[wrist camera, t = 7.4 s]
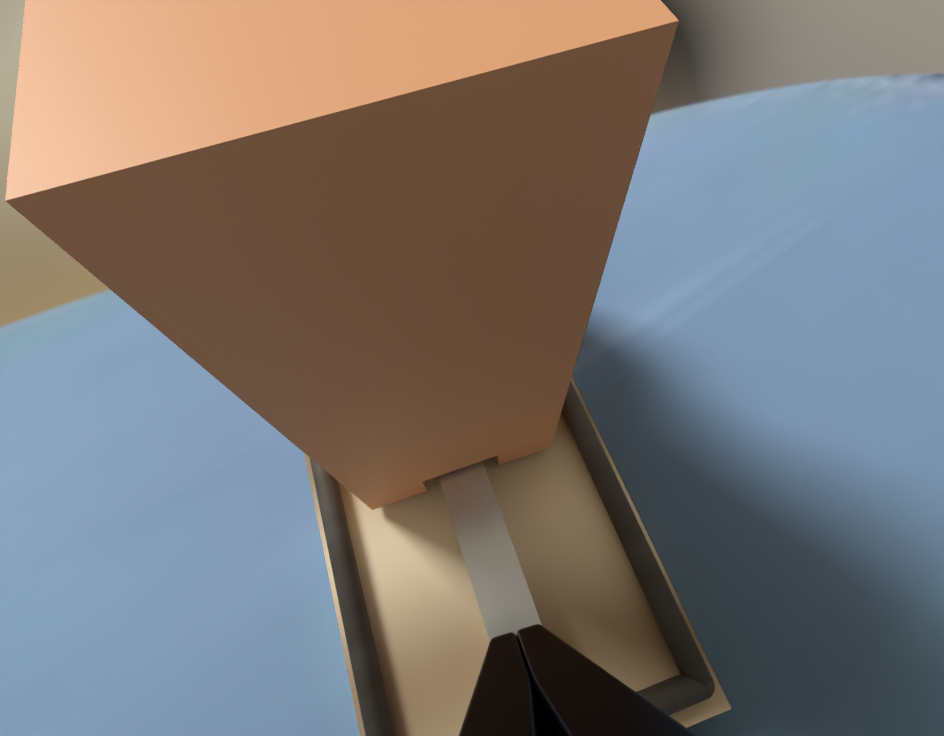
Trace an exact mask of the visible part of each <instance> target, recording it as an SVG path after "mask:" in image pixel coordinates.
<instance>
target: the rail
mask: <svg viewBox="0 0 944 736" xmlns="http://www.w3.org/2000/svg"><path fill="white" fill-rule="evenodd" d="M438 478H439V481H440V485H441V488H442V491H443V494H444V497H445V500H446V504H447V507H448V510H449V513H450V516H451V520H452V523H453V526H454V529H455V532H456V535H457V539H458V542H459V545H460V548H461V551H462V555H463V558H464V561H465V564H466V567H467V570H468V574H469V577H470V580H471V583H472V586H473V589H474V593H475V596H476V599H477V602H478V605H479V609H480V612H481V615H482V618H483V621H484V624H485V628H486V631H487V634H488V637H489V640H491V639H492V638H493V637H496V636H500V635H503V634H506V633H509V632H513V633H515V634H517V631H518V630H519V629H522V628H526V627H529V626H532V625H535V624H540V625H542V624H541V621H540V619H539V616H538V613H537V610H536V608H535V605H534V602H533V599H532V596H531V594H530V591H529V588H528V585H527V583H526V580H525V577H524V574H523V571H522V569H521V566H520V563H519V560H518V558H517V555H516V552H515V549H514V546H513V544H512V541H511V538H510V535H509V533H508V530H507V527H506V524H505V521H504V519H503V516H502V513H501V510H500V508H499V505H498V502H497V499H496V497H495V494H494V491H493V488H492V485H491V483H490V480H489V477H488V474H487V472H486V469H485V466H484V463H483V461H480V462H478V463H475V464H472V465H469V466H466V467H463V468H460V469H457V470H455V471H452V472H449V473H446V474H443V475H440V476H438ZM516 636H517V635H516Z"/></svg>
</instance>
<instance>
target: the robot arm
mask: <svg viewBox="0 0 944 736" xmlns="http://www.w3.org/2000/svg"><path fill="white" fill-rule="evenodd" d="M516 635H517V636H516ZM459 736H697V735H696V734H694V733H693V732H691V731H690V730H689V729H687V728H686V727H684V726H683V725H682V724H680V723H679V722H677V721H676V720H675V719H673V718H672V717H670V716H669V715H667V714H666V713H665V712H663V711H662V710H660V709H659V708H658V707H656V706H655V705H653V704H652V703H651V702H649V701H648V700H646V699H645V698H644V697H642V696H641V695H639V694H638V693H636V692H635V691H634V690H632V689H631V688H629V687H628V686H627V685H625V684H624V683H622V682H621V681H620V680H618V679H617V678H615V677H614V676H613V675H611V674H610V673H608V672H607V671H606V670H604V669H603V668H601V667H600V666H598V665H597V664H596V663H594V662H593V661H591V660H590V659H589V658H587V657H586V656H584V655H583V654H582V653H580V652H579V651H577V650H576V649H575V648H573V647H572V646H570V645H569V644H567V643H566V642H565V641H563V640H562V639H560V638H559V637H558V636H556V635H555V634H553V633H552V632H551V631H549V630H548V629H546V628H545V627H544V626H542V625H540V624H535V625H532V626H529V627H526V628H522V629H519V630H518V631H517V634H515V633H513V632H509V633H506V634H503V635H500V636H496V637H493V638H492V639H491V640H490V642H489V645H488V648H487V651H486V654H485V657H484V660H483V663H482V666H481V669H480V672H479V675H478V678H477V682H476V685H475V688H474V691H473V694H472V697H471V700H470V703H469V706H468V709H467V712H466V715H465V718H464V721H463V724H462V727H461V730H460V733H459Z"/></svg>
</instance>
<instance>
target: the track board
mask: <svg viewBox="0 0 944 736" xmlns="http://www.w3.org/2000/svg"><path fill="white" fill-rule="evenodd" d="M305 458H306V463H307V468H308V473H309V478H310V483H311V489H312V494H313V499H314V504H315V509H316V514H317V519H318V524H319V529H320V534H321V539H322V544H323V549H324V554H325V559H326V564H327V569H328V574H329V579H330V584H331V589H332V595H333V600H334V605H335V610H336V615H337V620H338V625H339V630H340V635H341V640H342V645H343V650H344V655H345V660H346V665H347V670H348V675H349V680H350V685H351V690H352V695H353V701H354V706H355V711H356V716H357V721H358V726H359V731H360V736H459V733H460V730H461V727H462V724H463V721H464V718H465V715H466V712H467V709H468V706H469V703H470V700H471V697H472V694H473V691H474V688H475V685H476V682H477V678H478V675H479V672H480V669H481V666H482V663H483V660H484V657H485V654H486V651H487V648H488V645H489V642H490V640H489V637H488V634H487V631H486V628H485V624H484V621H483V618H482V615H481V612H480V609H479V605H478V602H477V599H476V596H475V593H474V589H473V586H472V583H471V580H470V577H469V574H468V570H467V567H466V564H465V561H464V558H463V555H462V551H461V548H460V545H459V542H458V539H457V535H456V532H455V529H454V526H453V523H452V520H451V516H450V513H449V510H448V507H447V504H446V500H445V497H444V494H443V491H442V488H441V485H440V481H439V478H438V476H437V477H434V478H432V479H429V480H426V481H424V482H425V485H426V488H427V491H425V492H423V493H420V494H417V495H414V496H411V497H408V498H406V499H403V500H400V501H397V502H394V503H391V504H388V505H386V506H383V507H380V508H377V509H374V510H372V509H371V508H369V507H368V506H367V505H366V504H365V503H363V502H362V501H361V500H360V499H359V498H357V497H356V496H355V495H354V494H353V493H352V492H350V491H349V490H348V489H347V488H346V487H344V486H343V485H342V484H341V483H340V482H338V481H337V480H336V479H335V478H334V477H333V476H331V475H330V474H329V473H328V472H327V471H325V470H324V469H323V468H322V467H321V466H320V465H318V464H317V463H316V462H315V461H314V460H312V459H311V458H310V457H309V456H308V455H306V454H305ZM483 463H484V466H485V469H486V472H487V474H488V477H489V480H490V483H491V485H492V488H493V491H494V494H495V497H496V499H497V502H498V505H499V508H500V510H501V513H502V516H503V519H504V521H505V524H506V527H507V530H508V533H509V535H510V538H511V541H512V544H513V546H514V549H515V552H516V555H517V558H518V560H519V563H520V566H521V569H522V571H523V574H524V577H525V580H526V583H527V585H528V588H529V591H530V594H531V596H532V599H533V602H534V605H535V608H536V610H537V613H538V616H539V619H540V621H541V624H542V626H544V627H545V628H546V629H548V630H549V631H551V632H552V633H553V634H555V635H556V636H558V637H559V638H560V639H562V640H563V641H565V642H566V643H567V644H569V645H570V646H572V647H573V648H575V649H576V650H577V651H579V652H580V653H582V654H583V655H584V656H586V657H587V658H589V659H590V660H591V661H593V662H594V663H596V664H597V665H598V666H600V667H601V668H603V669H604V670H606V671H607V672H608V673H610V674H611V675H613V676H614V677H615V678H617V679H618V680H620V681H621V682H622V683H624V684H625V685H627V686H628V687H629V688H631V689H632V690H634V691H635V692H636V693H638V694H639V695H641V696H642V697H644V698H645V699H646V700H648V701H649V702H651V703H652V704H653V705H655V706H656V707H658V708H659V709H660V710H662V711H663V712H665V713H666V714H667V715H669V716H670V717H672V718H673V719H675V720H676V721H677V722H679V723H680V724H682V725H683V726H684V727H686V728H688V727H690V726H692V725H695V724H697V723H699V722H702V721H704V720H706V719H709V718H711V717H714V716H716V715H718V714H721V713H723V712H725V711H728V710H730V709H732V708H731V706H730V704H729V702H728V700H727V698H726V696H725V694H724V692H723V690H722V688H721V686H720V683H719V681H718V679H717V677H716V675H715V673H714V671H713V669H712V667H711V665H710V663H709V660H708V658H707V656H706V654H705V652H704V650H703V648H702V646H701V644H700V642H699V640H698V638H697V635H696V633H695V631H694V629H693V627H692V625H691V623H690V621H689V619H688V617H687V615H686V613H685V610H684V608H683V606H682V604H681V602H680V600H679V598H678V596H677V594H676V592H675V590H674V588H673V585H672V583H671V581H670V579H669V577H668V575H667V573H666V571H665V569H664V567H663V565H662V562H661V560H660V558H659V556H658V554H657V552H656V550H655V548H654V546H653V544H652V542H651V540H650V537H649V535H648V533H647V531H646V529H645V527H644V525H643V523H642V521H641V519H640V517H639V515H638V512H637V510H636V508H635V506H634V504H633V502H632V500H631V498H630V496H629V494H628V492H627V490H626V487H625V485H624V483H623V481H622V479H621V477H620V475H619V473H618V471H617V469H616V467H615V464H614V462H613V460H612V458H611V456H610V454H609V452H608V450H607V448H606V446H605V444H604V442H603V439H602V437H601V435H600V433H599V431H598V429H597V427H596V425H595V423H594V421H593V419H592V417H591V414H590V412H589V410H588V408H587V406H586V404H585V402H584V400H583V398H582V396H581V394H580V391H579V389H578V387H577V385H576V383H575V381H574V379H573V377H572V378H571V381H570V384H569V388H568V391H567V394H566V398H565V401H564V404H563V408H562V411H561V414H560V418H559V421H558V424H557V428H556V431H555V434H554V438H553V441H552V444H551V448H548V449H545V450H542V451H539V452H537V453H534V454H531V455H528V456H525V457H522V458H519V459H517V460H514V461H511V462H508V463H505V464H502V465H500V466H498V463H497V461H496V458H495V457H492V458H489V459H486V460H483Z"/></svg>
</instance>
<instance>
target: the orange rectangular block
mask: <svg viewBox="0 0 944 736" xmlns="http://www.w3.org/2000/svg"><path fill="white" fill-rule="evenodd" d="M678 21H679V20H678V19H677V18H676V17H675V16H674V15H673V14H672V13H671V11H670V10H669V9H668V8H667V7H666V6H665V5H664V4H663V3H662V2H661V0H26V2H25V12H24V22H23V32H22V41H21V42H22V43H21V52H20V62H19V71H18V80H17V90H16V100H15V111H14V120H13V129H12V139H11V149H10V159H9V169H8V179H7V188H6V199H5V201H6V202H8V203H9V204H10V205H11V206H12V207H13V208H15V209H16V210H17V211H18V212H20V214H22V215H23V216H24V217H25V218H27V219H28V220H29V221H30V222H31V223H32V224H34V225H35V226H36V227H37V228H38V229H39V230H41V231H42V232H43V233H44V234H45V235H47V236H48V237H49V238H50V239H51V240H53V241H54V242H55V243H56V244H57V245H58V246H60V247H61V248H62V249H63V250H64V251H66V252H67V253H68V254H69V255H70V256H72V257H73V258H74V259H75V260H76V261H78V262H79V263H80V264H81V265H82V266H84V267H85V268H86V269H87V270H88V271H89V272H91V273H92V274H93V275H94V276H95V277H96V278H98V279H99V280H100V281H101V282H102V283H104V284H105V285H106V286H107V287H108V288H109V289H111V290H112V291H113V292H114V293H115V294H117V295H118V296H119V297H120V298H121V299H123V300H124V301H125V302H126V303H127V304H128V305H130V306H131V307H132V308H133V309H134V310H136V311H137V312H138V313H139V314H140V315H142V316H143V317H144V318H145V319H146V320H147V321H149V322H150V323H151V324H152V325H153V326H155V327H156V328H157V329H158V330H159V331H160V332H162V333H163V334H164V335H165V336H166V337H168V338H169V339H170V340H171V341H172V342H174V343H175V344H176V345H177V346H178V347H179V348H181V349H182V350H183V351H184V352H185V353H187V354H188V355H189V356H190V357H191V358H193V359H194V360H195V361H196V362H197V363H198V364H200V365H201V366H202V367H203V368H204V369H206V370H207V371H208V372H209V373H210V374H212V375H213V376H214V377H215V378H216V379H217V380H219V381H220V382H221V383H222V384H223V385H225V386H226V387H227V388H228V389H229V390H231V391H232V392H233V393H234V394H235V395H236V396H238V397H239V398H240V399H241V400H242V401H244V402H245V403H246V404H247V405H248V406H249V407H251V408H252V409H253V410H254V411H255V412H257V413H258V414H259V415H260V416H261V417H263V418H264V419H265V420H266V421H267V422H268V423H270V424H271V425H272V426H273V427H274V428H276V429H277V430H278V431H279V432H280V433H282V434H283V435H284V436H285V437H286V438H287V439H289V440H290V441H291V442H292V443H293V444H295V445H296V446H297V447H298V448H299V449H301V450H302V451H303V452H304V453H305V454H306V455H308V456H309V457H310V458H311V459H312V460H314V461H315V462H316V463H317V464H318V465H320V466H321V467H322V468H323V469H324V470H325V471H327V472H328V473H329V474H330V475H331V476H333V477H334V478H335V479H336V480H337V481H338V482H340V483H341V484H342V485H343V486H344V487H346V488H347V489H348V490H349V491H350V492H352V493H353V494H354V495H355V496H356V497H357V498H359V499H360V500H361V501H362V502H363V503H365V504H366V505H367V506H368V507H369V508H371V509H372V510H374V509H377V508H380V507H383V506H386V505H388V504H391V503H394V502H397V501H400V500H403V499H406V498H408V497H411V496H414V495H417V494H420V493H423V492H425V491H427V488H426V485H425V482H424V481H426V480H429V479H432V478H434V477H437V476H440V475H443V474H446V473H449V472H452V471H455V470H457V469H460V468H463V467H466V466H469V465H472V464H475V463H478V462H480V461H483V460H486V459H489V458H492V457H495V458H496V461H497V463H498V466H500V465H502V464H505V463H508V462H511V461H514V460H517V459H519V458H522V457H525V456H528V455H531V454H534V453H537V452H539V451H542V450H545V449H548V448H551V444H552V441H553V438H554V434H555V431H556V428H557V424H558V421H559V418H560V414H561V411H562V408H563V404H564V401H565V398H566V394H567V391H568V388H569V384H570V381H571V378H572V374H573V371H574V368H575V364H576V361H577V358H578V354H579V351H580V348H581V344H582V341H583V338H584V334H585V331H586V328H587V324H588V321H589V318H590V314H591V311H592V308H593V305H594V301H595V298H596V295H597V291H598V288H599V285H600V281H601V278H602V275H603V271H604V268H605V265H606V261H607V258H608V255H609V251H610V248H611V245H612V241H613V238H614V235H615V231H616V228H617V225H618V221H619V218H620V215H621V211H622V208H623V205H624V201H625V198H626V195H627V191H628V188H629V185H630V181H631V178H632V175H633V171H634V168H635V165H636V161H637V158H638V155H639V151H640V148H641V145H642V141H643V138H644V135H645V131H646V128H647V125H648V121H649V118H650V115H651V111H652V108H653V105H654V101H655V98H656V95H657V91H658V88H659V85H660V81H661V78H662V75H663V71H664V68H665V64H666V61H667V58H668V55H669V51H670V48H671V45H672V41H673V38H674V34H675V31H676V28H677V25H678Z"/></svg>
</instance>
